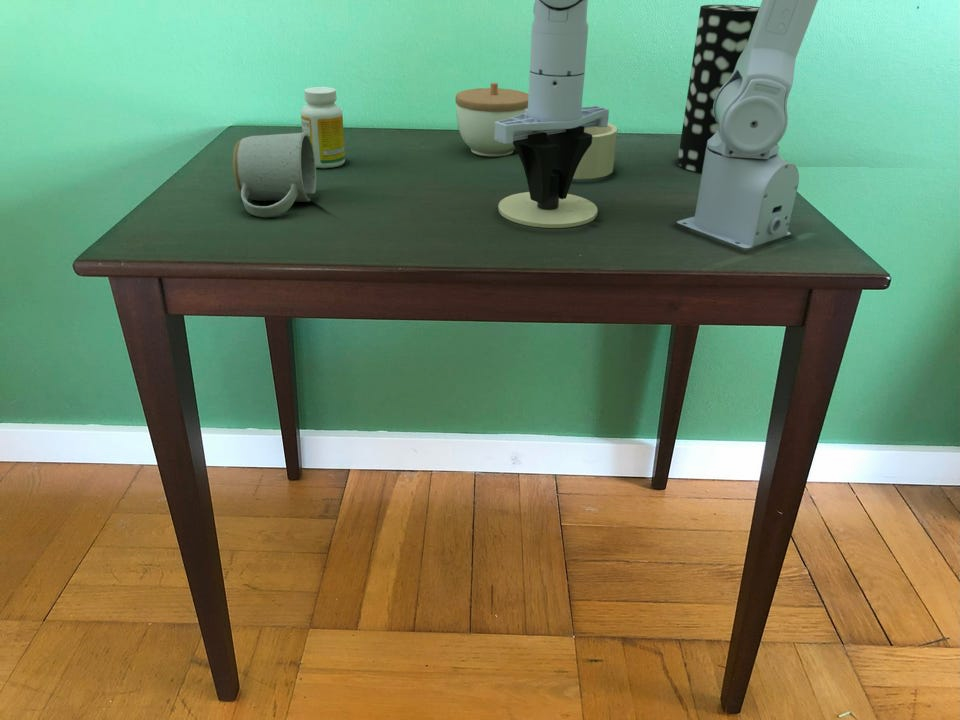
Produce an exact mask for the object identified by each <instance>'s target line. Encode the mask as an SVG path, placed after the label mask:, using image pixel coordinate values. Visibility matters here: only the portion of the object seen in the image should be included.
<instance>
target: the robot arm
mask: <svg viewBox="0 0 960 720" xmlns="http://www.w3.org/2000/svg"><path fill="white" fill-rule="evenodd" d="M818 2H819V0H761V2H760V5H759V7H760V8H759V11H758V14H757V17H756V20H755V22H754V25H753V28H752V31H751V34H750V37H749V40H748V43H747V45H746V47H745V49H744V50H743V52H742V54H741V55H740V57H739V59H738V61H737V64H736V67H735V69H734V72H733V74H732V76H731V77H730V78H729V80H728V81H727V82H726V83H725V84H724V85H723V86H722V87H721V88H720V90H719V91H718V93H717V95H716V97H715V100H714V105H713V112H714V117H715V120H716V122H717V123H718V125H719V126H720V127H719V129H718V130H717V131H716V133H715V134H714V135H713V136H712V137H711V138H710V139H709V140H708V141H707V147H706V152H705V158H704V164H703V170H702V173H701V176H700V183H699V189H698V195H697V200H696V208H695V213H694V216H691V217H686V218H683V219H680V220H677V221H676V223H677V224H679V225H681V226H684V227H687V228H689V229H692V230H694V231H697V232H700V233H703V234H705V235H708V236H711V237H713V238H716V239H718V240H721V241H724V242H727V243H729V244H732V245H734V246H737V247H740V248H743V249H751V248H755V247H756V246H757V247H758V246H760V245H762V244H765V243H769V242H772V241H774V240H778V239H781V238H783V237H787V236H790V235H791V234H792V233H791V232H790V231H789V227H790V223H791V218H792V215H793V214H792V213H793V209H794V207H795V206H794V205H795V202H796V197H797V192H798V188H799V183H800V173H799V169H798V167H797V166H796V165H795V164H794V163H792V162H790V161H787V160H785V159H784V158H783V157H781V155H780V154H779V151H780V146H779V142H781V140H782V139H783V137H784V135H785V133H786V131H787V128H788V124H789V115H788V99H789V96H790V93H791V90H792V87H793V84H794V76H795V67H796V59H797V56H798V54H799V52H800V49H801V46H802V43H803V40H804V38H805V35H806V33H807V29H808V27H809V25H810V22H811V19H812V17H813V14H814V11H815V9H816V7H817V3H818ZM588 5H589V0H534V3H533V7H532V12H533V21H532V23H531V30H530V31H531V33H530V50H529V51H530V53H529V74H528V75H529V77H528V93H527V94H528V109H525V113H523V114H520V115H517V116H515V117H512V118H509V119H505V120H501V121H496V122H495V136H494V140H495V141H498V142H501V143H504V144H510V143H513V145H514V147H515V150H516V153H517V154H518V157H519V159H520V162H521V164H522V167H523V170H524V173H525V177H526V183H527V186H528V192H530V198H531V200H533V201H536V202H538V203H540V204H544V203H547V199H548V195H549V188H550V177H551V172H552V169H555V170H559V171H560V172H561V179H560V193H559V198H560V199H565V198H566V197H567V194H569V191H570V188H571V185H572V182H573V180H574V179H573V177H574V174H575V171H576V169H577V167H578V165H579V163H580V161H581V159H582V157H583V156H584V154H585V152H586V151H587V149H588V148H589V147H590V145H591V144H592V135H591V134H588V133H585V132H584V129H585V128H591V127H596V126H597V127H600V128H602V127H607V125H608V123H609V115H610V109H609V108H606V107H602V106H599V105H595V106H583V99H584V98H583V96H584V85H585V76H586V75H585V72H586V61H587V60H586V58H587V50H588V37H589V23H588V22H587V17H588Z"/></svg>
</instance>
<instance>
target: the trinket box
mask: <svg viewBox="0 0 960 720" xmlns="http://www.w3.org/2000/svg"><path fill="white" fill-rule="evenodd" d="M528 94H529V93H528V92H525V91H521V90H517V89H509V88H501V87H500V88H499V83H498V82H490V87H482V88H471V89H470V88H469V89H464V90H461V91H459V92H457V93H456V94H455V109H456V110H455V111H456V112H455V113H456V124H457V129H458V133H459V135H460V136H461V137H460V138H461V139H462V140H463V142H464V143H465V144H466V145H467V146H468V148H469V149H470V152H471V153H473V154H475V155H478V156H482V157H505V156H506V157H507V156H509V155H510V156H511V154H513V153H514V150H516V148H515V147H514V145H513V143H510V144H504V143H501V142H498V141H495V140H494V136H495V122H496V121H501V120H505V119H509V118H512V117H515V116H517V115H520V114H523V113H525V109H528Z"/></svg>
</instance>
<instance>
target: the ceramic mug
mask: <svg viewBox="0 0 960 720" xmlns="http://www.w3.org/2000/svg"><path fill="white" fill-rule="evenodd" d="M233 148H234V149H233V153H232V171H233V178H234V183H235V185H236V188H237V190H238V192H239V193H240V197H241V201H242V204H243V206H244V209H245V211H246V212H248V213H249V214H250V215H253V216H255V217H259V218H274V217H277V216H280V215H282V214H285V213H286V212H287V211H288V210H290V209H291V208H292V207H293V205H294V203H295V202H296V203H310V202H311V201H312V200H311V198H309V197H308V195H307V194H314V193H316V188H317V168H316V164H315V157H314V151H313V146H312V143H311V140H310V137H309V136H308V135H307V134H306V133H302V132H294V133H281V134H280V133H279V134H277V133H276V134H265V135H264V134H261V135H251V136H250V135H249V136H247V137H243V138H240V139H239V140H238V141H237V142H236V143H235V145H234V147H233ZM248 200H251V201H258V202H275V203H274V204H270V205H268V206H267V205H265V206H264V205H263V206H261V205H254V204H252V203H250V202H249V201H248Z"/></svg>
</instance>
